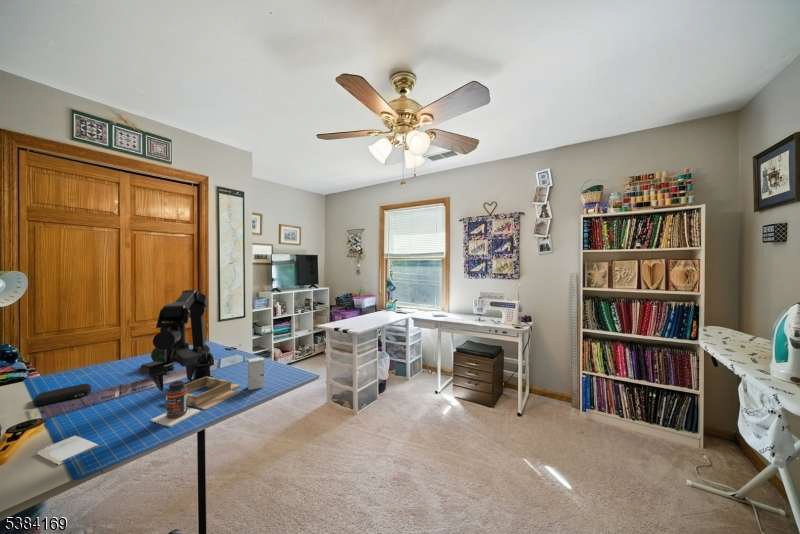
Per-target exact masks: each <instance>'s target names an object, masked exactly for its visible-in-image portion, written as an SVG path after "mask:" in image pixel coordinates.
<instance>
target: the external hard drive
mask: <svg viewBox="0 0 800 534" xmlns="http://www.w3.org/2000/svg"><path fill="white" fill-rule="evenodd" d="M49 446H50V447H49ZM45 447H46V448H45ZM45 447H44V448H45V449H47V448H48V449H50V450H53V451H50V457H52V458H53V459H55V460H58V461H60V462H61V461H63V460H66V459H68V458H71V457H73V456H75V455H78V454H82V453H85V452H87V451H90V450H92V449H95V448H97V447H99V448H100V445H99V444H97V443H95V442H92V441H91V440H89V439H86V438H83V437H81V436H78V435H73V436H70V437H68V438H65V439H63V440H60V441H58V442H55V443H53V444H50V445H48V446H45ZM97 449H98V448H97ZM95 450H96V449H95ZM92 451H93V450H92ZM90 452H91V451H90Z"/></svg>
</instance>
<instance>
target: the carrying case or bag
mask: <svg viewBox="0 0 800 534" xmlns="http://www.w3.org/2000/svg"><path fill="white" fill-rule="evenodd" d="M91 392H92V386H91V385H90V384H89V383H80V384H75V385H71V386H66V387H61V388H58V389H52V390H47V391H43V392H40V393H38V394H37V395H36V396H35V397H34V399H33V405H34V406H36V405H43V406H45V405H44V404H47V405H50V404H49V403H51V404H54V403H53V402H56V403H60V402H64V401H68V400H73V399H76V398H82V397H85V396H88V395H89V393H91ZM59 401H60V402H59Z"/></svg>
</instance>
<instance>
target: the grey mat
mask: <svg viewBox="0 0 800 534" xmlns="http://www.w3.org/2000/svg"><path fill="white" fill-rule="evenodd" d="M200 413H201V409H200V410H199V409H196V408H194V407H190V406H189V407H188V406H187V412H186V413H185V414H184V415H183V416H181V417H178V418H167V417H166V412H165V413H162V414H160V415H158V416H156V417H153V418H151V419H150V422H153V423H155V422H156V423H155V424H158V423H159V424H160V425H163V426H166V427H168V428H172V427H174V426H177V425H178V424H180V423H182V422H184V421H186V420H188V419H190V418H191V417H194V416H196V415H198V414H200Z"/></svg>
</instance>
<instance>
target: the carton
mask: <svg viewBox="0 0 800 534" xmlns="http://www.w3.org/2000/svg"><path fill="white" fill-rule="evenodd" d="M241 386H242V385H241V384H236V383H232V381H231V380H225V379H220V378H216V377H213V378H212V377H207V376H205V377H203V378H200V379H198V380H195V381H190V382H188V383H186V384H185V383H184V387H186V388H187V407H188V406H189V407H192V406H193V407H192V408H196V407H197V409H200V408H201V409H200V410H203V409H204V410H205V411H206V410H209V409H210V407H211V408H213V407H215V406H216V405H219V404H221V403H222V402H225V401H227V400H228V398H229V399H230V398H233V397H235V396H237V395H239V394H240V393H241V392H240V391H236V390H235V389H237V388H240V387H241ZM205 387H207V388H211V389H208V390H206V391H204V392H202V393H200V394H198V395H194V394H191V393H193V391H194V392H196V391H199V390H201V389H203V388H205ZM200 388H201V389H200ZM233 389H234V390H233ZM195 390H196V391H195Z"/></svg>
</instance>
